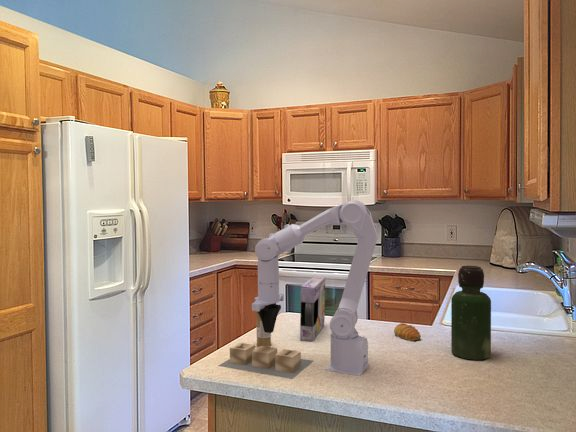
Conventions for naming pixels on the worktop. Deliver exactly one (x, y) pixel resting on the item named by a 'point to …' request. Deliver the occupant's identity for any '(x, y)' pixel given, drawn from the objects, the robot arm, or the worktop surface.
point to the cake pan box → (312, 308)
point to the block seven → (241, 353)
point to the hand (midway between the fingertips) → (268, 332)
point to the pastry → (407, 332)
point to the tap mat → (269, 371)
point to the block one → (288, 360)
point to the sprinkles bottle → (262, 334)
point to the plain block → (264, 357)
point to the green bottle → (471, 316)
